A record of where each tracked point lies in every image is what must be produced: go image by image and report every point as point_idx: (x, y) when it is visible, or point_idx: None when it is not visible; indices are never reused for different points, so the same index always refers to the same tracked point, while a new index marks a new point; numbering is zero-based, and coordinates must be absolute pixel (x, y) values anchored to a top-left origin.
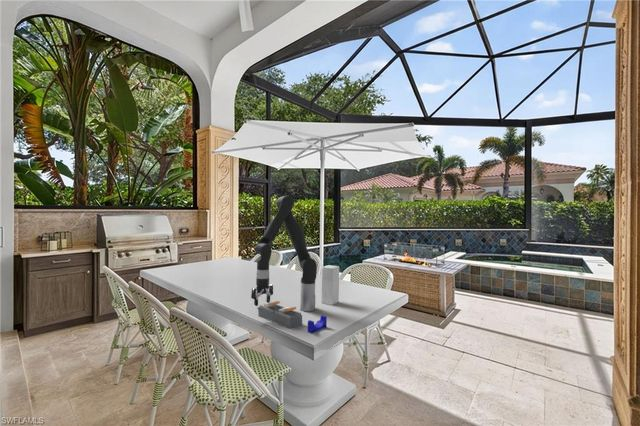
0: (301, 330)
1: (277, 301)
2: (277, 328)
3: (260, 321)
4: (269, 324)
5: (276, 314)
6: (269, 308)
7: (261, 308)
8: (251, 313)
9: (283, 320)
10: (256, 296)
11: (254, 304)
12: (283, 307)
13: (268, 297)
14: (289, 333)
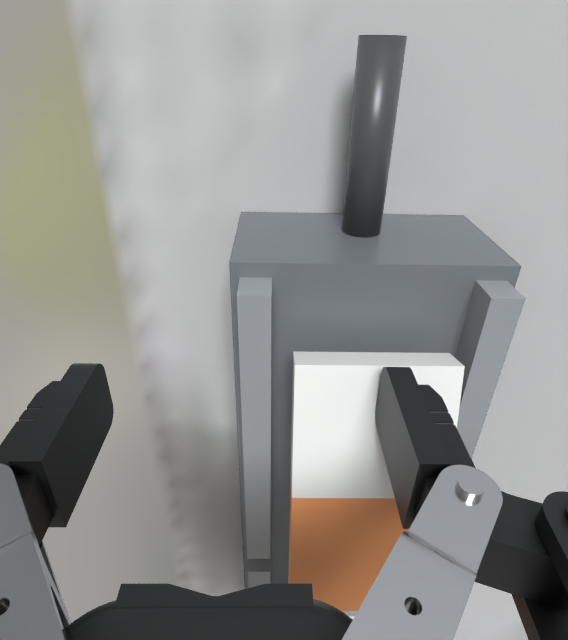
0: None
1: None
2: (183, 550)
3: (149, 377)
4: (179, 474)
5: (244, 567)
6: (261, 493)
7: (233, 340)
8: (215, 33)
9: None
10: (19, 535)
11: (48, 387)
12: None
13: (400, 504)
14: None
